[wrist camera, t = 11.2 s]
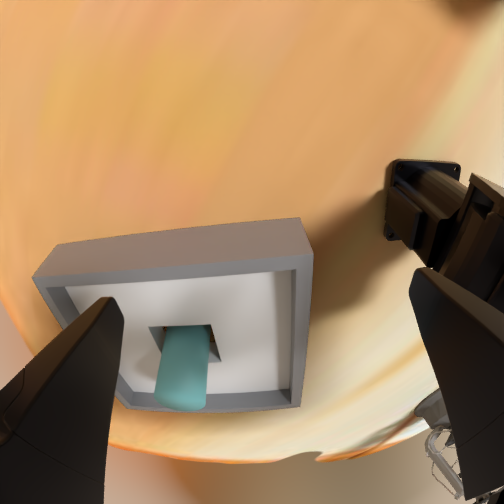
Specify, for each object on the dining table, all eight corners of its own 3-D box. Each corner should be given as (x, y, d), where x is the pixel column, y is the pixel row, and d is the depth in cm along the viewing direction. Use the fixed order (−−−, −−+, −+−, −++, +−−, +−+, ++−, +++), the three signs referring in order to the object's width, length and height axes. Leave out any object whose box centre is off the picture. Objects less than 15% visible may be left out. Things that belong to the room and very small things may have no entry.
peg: (206, 308, 25) (198, 388, 18) (214, 337, 27) (210, 411, 20) (163, 311, 25) (145, 387, 18) (175, 339, 27) (163, 410, 20)
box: (299, 217, 20) (313, 253, 16) (295, 373, 31) (300, 406, 27) (57, 244, 20) (31, 277, 17) (133, 378, 31) (126, 408, 28)
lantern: (422, 422, 51) (449, 519, 27) (401, 409, 43) (434, 539, 18) (483, 383, 45) (519, 480, 20) (480, 359, 36) (531, 488, 12)
